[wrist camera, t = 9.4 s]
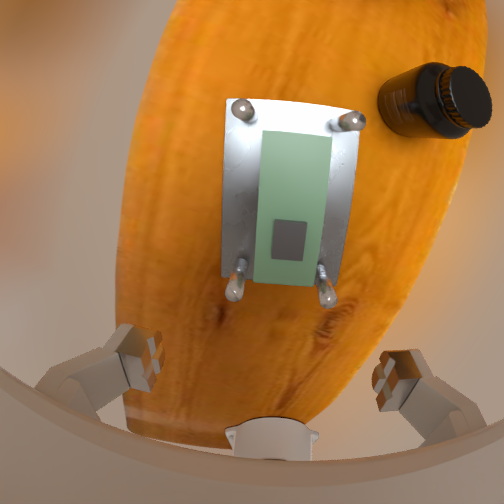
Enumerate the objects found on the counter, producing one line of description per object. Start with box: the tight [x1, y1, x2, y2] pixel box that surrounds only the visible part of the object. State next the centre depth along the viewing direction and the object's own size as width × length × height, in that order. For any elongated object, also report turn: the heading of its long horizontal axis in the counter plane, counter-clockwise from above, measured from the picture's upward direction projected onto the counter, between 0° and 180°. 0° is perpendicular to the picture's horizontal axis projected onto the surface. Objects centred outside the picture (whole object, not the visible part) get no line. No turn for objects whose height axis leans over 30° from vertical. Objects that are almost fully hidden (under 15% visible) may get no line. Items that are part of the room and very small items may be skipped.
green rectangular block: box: [253, 130, 333, 287], centre depth 22 cm, size 12×5×5 cm, turn 177°
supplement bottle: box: [379, 62, 492, 139], centre depth 17 cm, size 7×7×12 cm
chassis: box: [221, 99, 366, 309], centre depth 24 cm, size 19×13×7 cm
